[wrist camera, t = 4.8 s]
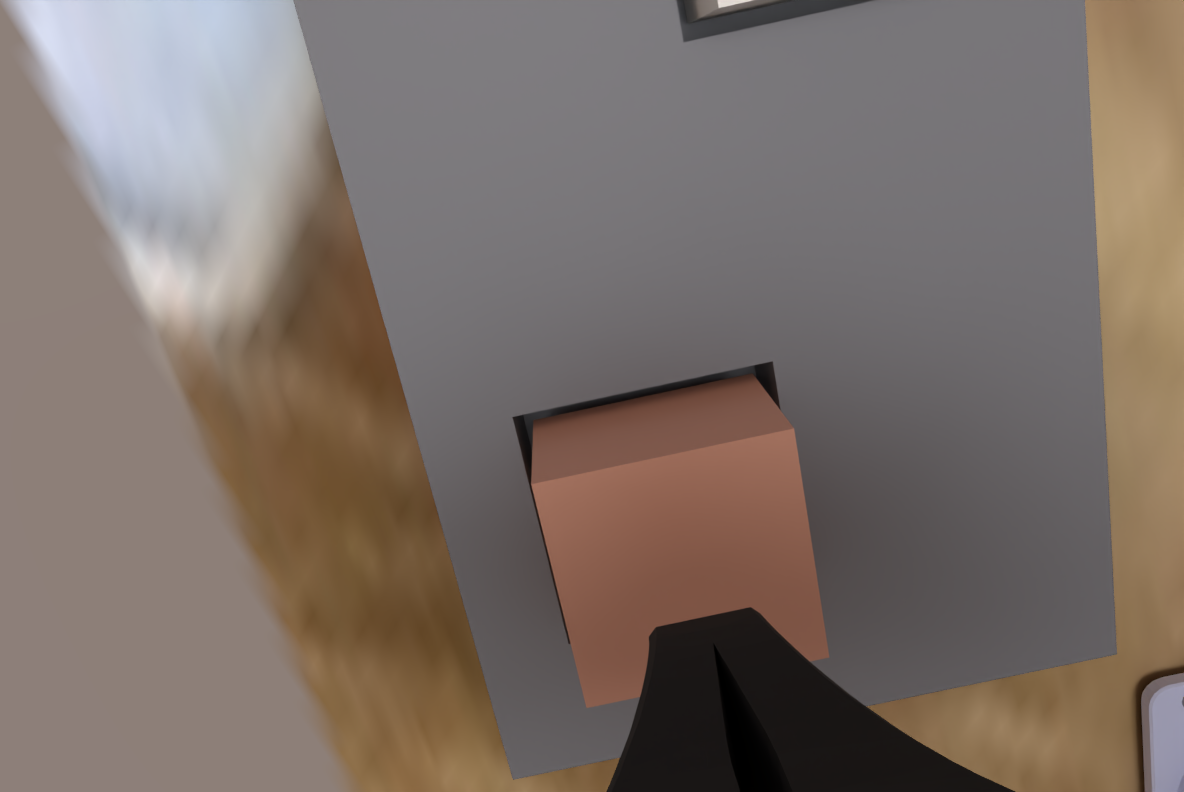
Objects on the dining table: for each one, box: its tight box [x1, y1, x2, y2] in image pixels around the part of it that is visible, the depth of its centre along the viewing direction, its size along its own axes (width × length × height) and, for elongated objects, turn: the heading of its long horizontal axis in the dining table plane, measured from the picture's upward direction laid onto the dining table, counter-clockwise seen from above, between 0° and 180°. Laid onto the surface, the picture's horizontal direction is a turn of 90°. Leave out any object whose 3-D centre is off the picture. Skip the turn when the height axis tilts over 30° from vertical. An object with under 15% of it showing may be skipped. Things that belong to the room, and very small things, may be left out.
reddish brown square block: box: [531, 373, 829, 708], centre depth 16 cm, size 4×4×3 cm
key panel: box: [294, 0, 1117, 780], centre depth 17 cm, size 12×20×3 cm, turn 12°
